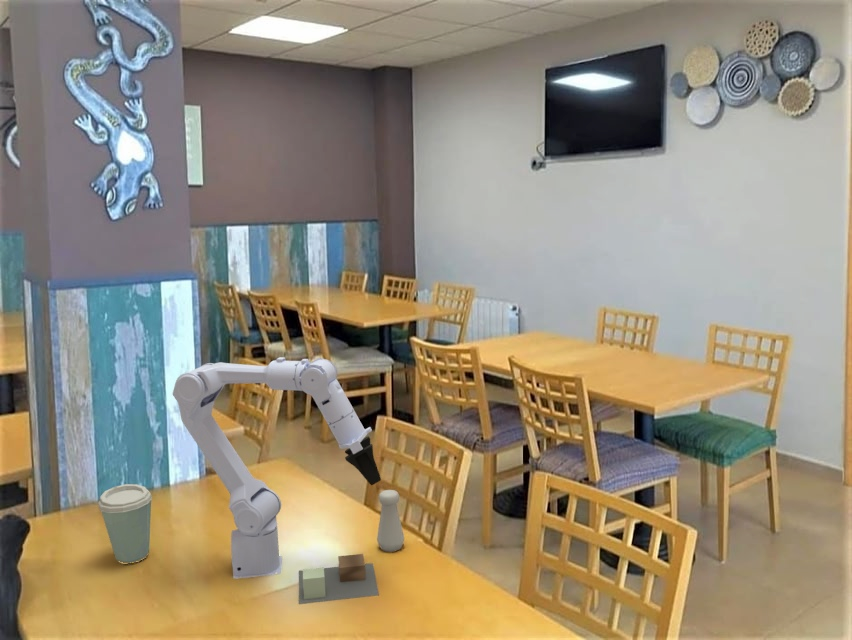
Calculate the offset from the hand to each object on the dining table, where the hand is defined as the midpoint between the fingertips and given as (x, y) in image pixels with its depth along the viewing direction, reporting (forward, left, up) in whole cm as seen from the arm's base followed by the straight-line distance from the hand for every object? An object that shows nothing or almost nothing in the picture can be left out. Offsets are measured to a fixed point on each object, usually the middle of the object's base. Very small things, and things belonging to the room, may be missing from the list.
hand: (375, 478), depth 150 cm
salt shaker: (+4, +12, -21) cm, 25 cm away
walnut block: (-5, +2, -20) cm, 21 cm away
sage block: (-13, -4, -20) cm, 24 cm away
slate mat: (-8, -1, -21) cm, 22 cm away
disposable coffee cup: (-51, +20, -21) cm, 59 cm away
